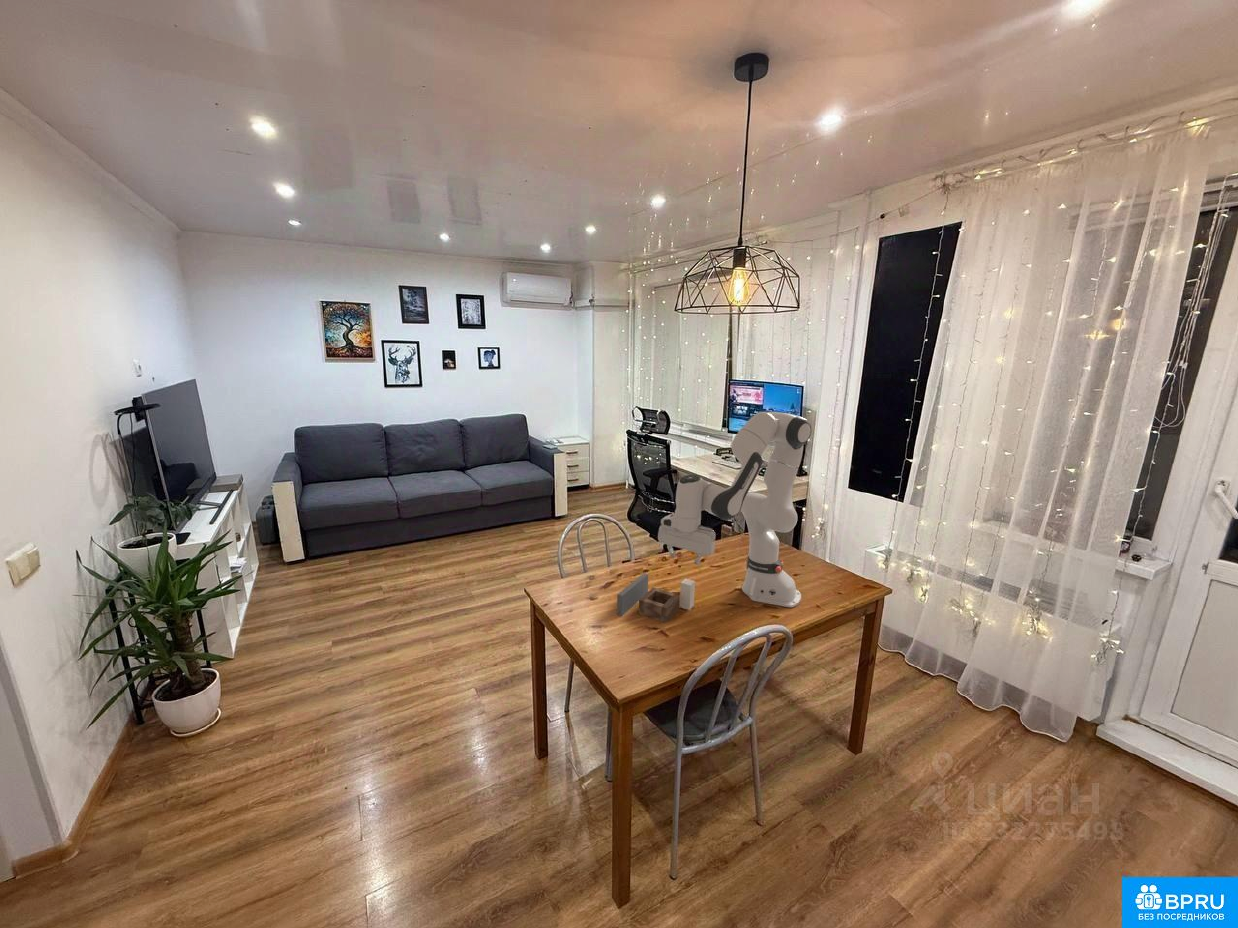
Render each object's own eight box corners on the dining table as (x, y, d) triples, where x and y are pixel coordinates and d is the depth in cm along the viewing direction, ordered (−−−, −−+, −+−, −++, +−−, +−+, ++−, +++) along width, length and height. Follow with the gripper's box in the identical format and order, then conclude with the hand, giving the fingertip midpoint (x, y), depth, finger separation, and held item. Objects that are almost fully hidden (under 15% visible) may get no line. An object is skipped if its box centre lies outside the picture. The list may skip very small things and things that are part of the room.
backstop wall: (647, 592, 194) (648, 574, 192) (621, 615, 178) (622, 595, 176) (643, 591, 195) (643, 572, 193) (617, 614, 179) (617, 594, 177)
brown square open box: (679, 609, 183) (679, 595, 181) (666, 623, 174) (666, 608, 172) (652, 601, 188) (653, 587, 187) (638, 614, 179) (639, 599, 178)
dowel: (693, 605, 186) (695, 581, 183) (689, 610, 182) (690, 585, 180) (683, 602, 188) (685, 578, 185) (679, 607, 184) (680, 582, 182)
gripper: (719, 526, 165) (716, 564, 168) (665, 514, 176) (663, 550, 179) (712, 532, 160) (708, 571, 163) (656, 518, 170) (654, 555, 174)
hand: (684, 560), depth 171 cm, fingers open, 8 cm apart
